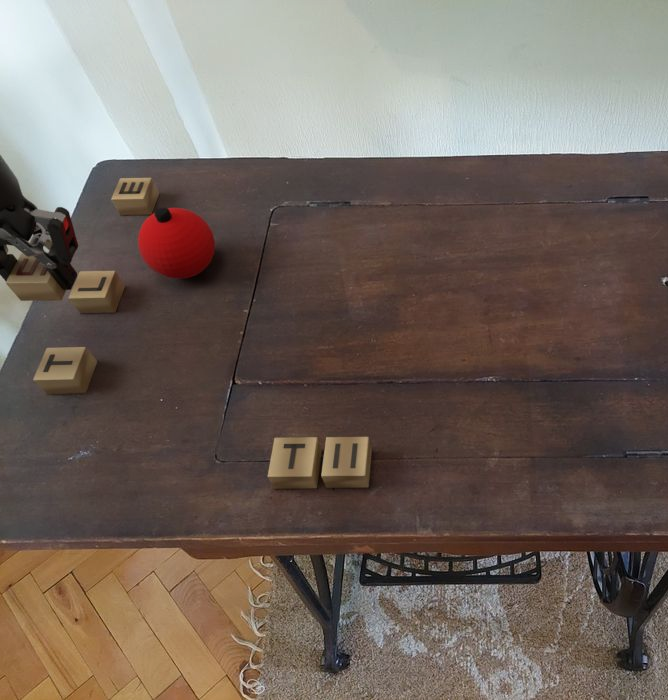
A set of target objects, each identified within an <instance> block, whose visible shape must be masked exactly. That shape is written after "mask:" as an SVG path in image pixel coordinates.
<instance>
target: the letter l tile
mask: <svg viewBox="0 0 668 700" xmlns="http://www.w3.org/2000/svg"><path fill="white" fill-rule="evenodd" d="M125 289H126V284H125V283H124V282H123V280H122V279H121V277H120V276H119V273H118V272H117V271H116V270H87V271H86V270H85V271H84V270H83V271H79V273H78V274H77V278H76V280H75V282H74V285H73V286H72V288H71V290H70V291H71V292H70V293H69V296H68V300H69V301H70V302H71V304H72V305H73V306H74V308H75V309H76V310H77V311H78V313H79V314H107V313H109V314H112V313H113V314H115V313H116V312H117V310H118V308H119V304H120V302H121V298H122V296H123V293H124V291H125Z"/></svg>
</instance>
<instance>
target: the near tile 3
mask: <svg viewBox="0 0 668 700" xmlns="http://www.w3.org/2000/svg"><path fill="white" fill-rule="evenodd" d="M372 451H373V448H372V445H371V441H370V437H369V436H326V438H325V443H324V452H323V458H322V466H321V478H322V481H323V484H324V486H325V488H326V489H345V488H347V489H348V488H349V489H353V488H357V489H358V488H363V489H364V488H369V487H370V477H371V467H372V465H371V463H372V455H373V452H372Z"/></svg>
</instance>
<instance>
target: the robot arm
mask: <svg viewBox="0 0 668 700" xmlns="http://www.w3.org/2000/svg"><path fill="white" fill-rule="evenodd" d="M8 246H12V247H14V248H15V249H17V250H18V251H20V252H21V253H23V254H25V255H26V256H28V257H31V256H33V257H35V258H36V259H37V260H38V261H40V262H41V263H42V264H43V265H45V266H46V267H47V268H46V270H47V271H48V272H49V273H50V275H52V277H53V278H54V279H55V280H56V282H57V283H58V284H59V286H60V287H61V288H62V289H63V290H66V291H72V289H73V286H74V284H75V282H76V279H77V277H78V272H77V271H76V269H75V267H74V266H73V265H72V261H73V258H74V256H75V254H76V251H77V250H78V248H79V242H78V238H77V236H76V231H75V228H74V225H73V221H72V218H71V213H70V211H69V209H67V208H65V207H62V206H58V207H56V208H55V210H54V211H49V210H44V209H38V207H37V205H35V204H34V203H33V202H32V201H30V200H29V199H28V198H26V197H25V196H24V195H23V192H22V189H21V186H20V181H19V180H18V178H17V176H16V175H15V173H14V171H12V169H11V168H10V165H8V163H7V162H6V161H5V159H4V158H3V156H2V155H1V154H0V277H1V278H2V279H3V280H4V281H5V282H6V281H7V279H8V277H9V275H10V274H11V272H12V270H13V268H14V266H15V264H16V262H17V261H18V258H17V257H16V256H15V255H14V254H13V253H9V248H8ZM44 248H46V249H47V250H48V251H45V250H44ZM46 252H48V253H46ZM72 266H73V267H72ZM74 269H75V270H74Z"/></svg>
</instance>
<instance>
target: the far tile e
mask: <svg viewBox="0 0 668 700" xmlns="http://www.w3.org/2000/svg"><path fill="white" fill-rule="evenodd" d="M159 195H160V192H159V190H158V188H157V186H156V184H155V182H154V180H153V178H152V177H121V178H119V180H118V183H117V185H116V186H115V190H114V191H113V194H112V197H111V199H110V200H111V202H112V203H113V205H114V207H115V209H116V210H117V212H118V214H119V216H151V215H152V214H153V213H154V210H155V206H156V204H157V201H158V199H159Z"/></svg>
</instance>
